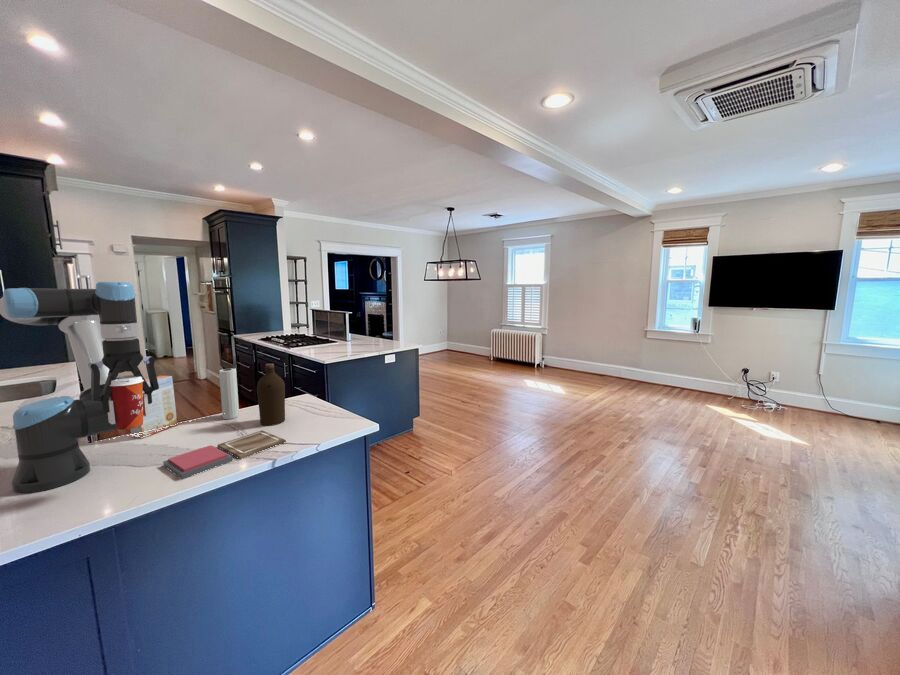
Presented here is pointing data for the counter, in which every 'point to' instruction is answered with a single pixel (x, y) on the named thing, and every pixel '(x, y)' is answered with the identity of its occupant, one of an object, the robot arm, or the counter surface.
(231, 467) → the counter surface
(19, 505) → the counter surface
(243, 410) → the counter surface
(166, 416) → the cracker box
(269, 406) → the olive oil
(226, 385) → the paper towel roll
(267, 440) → the marked board
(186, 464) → the ink pad
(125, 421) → the paper cup
